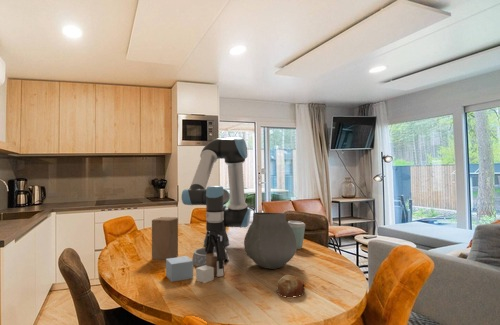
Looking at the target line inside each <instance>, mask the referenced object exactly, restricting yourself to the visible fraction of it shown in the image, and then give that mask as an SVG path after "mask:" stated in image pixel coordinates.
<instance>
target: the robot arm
mask: <svg viewBox="0 0 500 325" xmlns="http://www.w3.org/2000/svg"><path fill="white" fill-rule="evenodd" d="M199 157H200V159H199V162H198V165H197V167H196V168H197V169H196V170H195V173H194V176H193V178H192V181H191V184H190V186H189V188H186V189H184V190H182V192H181V202H182V204H183V205H186V206H205V207H206V208H205V209H206V211H205V213H206V214H205V215H204V216H205V217H206V218H205V220H206V223H205V224H206V225H205V226H206V227H205V228H206V233H205V236H204V240H203V245H204V246H205V247H204V248H205V252H207V254H209V253H214V252H213V249H214V247H215V249H216V254H217V259H218V260H216V261H217V275H216V277H217V278H218V277H219V278H220V277H224V274H223V260H224V261H226V260H227V259H226V255H225V250H226V248H225V247H227V246H229V245H230V240H229V237H228V233H227V228H240V229H241V228H247V227H248V226H250V225H249V224H250V220H251V214H252V213H251V211H252V210H251V208H250V207H248V203H246V201H245V185H244V168H243V164H244V163H245V162H246V159H247V158H248V145H247V143H246V140H245V139H244V138H242V137H225V138H221V137H218V138H215V139H213V140H211V141H209V142H208V143H207V144H206V145H205V146H204V147H203V148H202V150H201V152H200V155H199ZM220 159H222V160H223V159H224V163H225V164H226V165H227V173H228V188H229V191H228V190H227V189H225V188H224V187H223V186H222V185H208V183H209V179H210V176H211V174H212V171H213V168H214V164H215V163H217V160H220ZM229 201H230V202H229ZM227 203H229V204H228V206H227ZM207 248H208V249H207Z"/></svg>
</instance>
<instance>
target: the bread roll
mask: <svg viewBox="0 0 500 325" xmlns="http://www.w3.org/2000/svg"><path fill="white" fill-rule="evenodd" d="M305 287H306V284H305V283H304V282H303V281H302V279H300V278H299V277H297V276H295V275H291V274H285V275H283V276H282V277H281V278H280V279H279V280H278V281H277V288H276V290H277V291H278V292H277V294H278V293H279V294H280V295H282V296H286V297H285V298H287V297H293V296H299V295H301V296H303V295H304V294H303V293H305ZM279 294H278V295H279ZM302 294H303V295H302ZM280 295H279V296H280ZM282 296H281V297H282ZM299 297H300V296H299Z"/></svg>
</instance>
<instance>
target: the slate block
mask: <svg viewBox="0 0 500 325" xmlns="http://www.w3.org/2000/svg"><path fill="white" fill-rule="evenodd" d="M165 275H166V277H167V278H168V280H169V281H170V282H172V283H174V282H178V281H183V280H191V279H194V265H193V261H192V259H191V258H190V257H189V256H187V255H183V256H176V257H174V258H169V259H166V260H165Z"/></svg>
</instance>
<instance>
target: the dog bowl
mask: <svg viewBox="0 0 500 325" xmlns="http://www.w3.org/2000/svg"><path fill="white" fill-rule="evenodd" d="M207 249H208V248H207ZM213 252H214V253H216V249H215V247H214V249H213ZM206 254H207V252H205V247H201V248H196V249H195V250H194V251H193V254H192V255H193V256H192V259H191V260H192V261H193V266H196V267H201V266H204V265H206ZM225 255H226V260H227V262H229V255H228V251H227V249H225Z"/></svg>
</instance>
